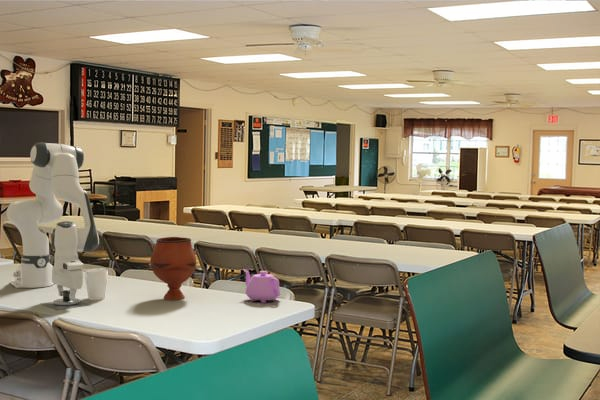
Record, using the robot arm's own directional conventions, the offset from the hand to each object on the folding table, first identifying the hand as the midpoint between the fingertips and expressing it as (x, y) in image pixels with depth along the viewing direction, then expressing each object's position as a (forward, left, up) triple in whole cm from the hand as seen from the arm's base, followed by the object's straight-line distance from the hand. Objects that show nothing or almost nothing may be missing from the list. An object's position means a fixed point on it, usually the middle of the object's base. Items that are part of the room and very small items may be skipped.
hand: (66, 297), depth 278 cm
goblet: (+17, +39, -3) cm, 43 cm away
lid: (0, 0, -2) cm, 2 cm away
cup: (-2, +14, -3) cm, 14 cm away
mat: (+1, -1, -3) cm, 3 cm away
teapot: (+44, +64, -3) cm, 78 cm away
